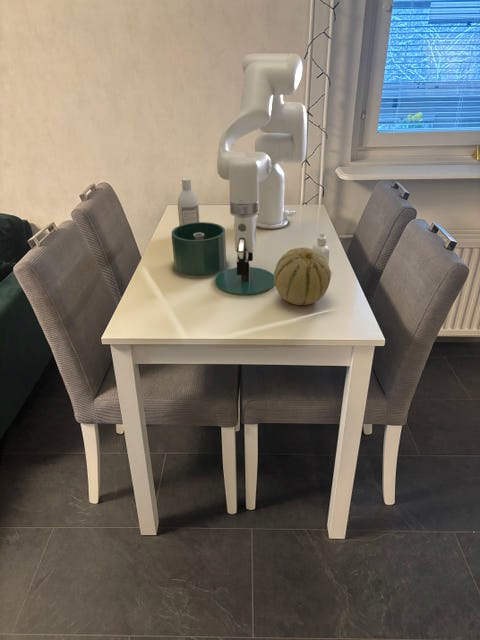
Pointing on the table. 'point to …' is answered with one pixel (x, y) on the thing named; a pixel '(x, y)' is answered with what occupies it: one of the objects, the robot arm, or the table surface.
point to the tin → (199, 249)
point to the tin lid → (245, 281)
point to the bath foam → (187, 204)
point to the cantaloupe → (302, 276)
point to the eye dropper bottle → (322, 247)
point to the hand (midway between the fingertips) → (245, 267)
